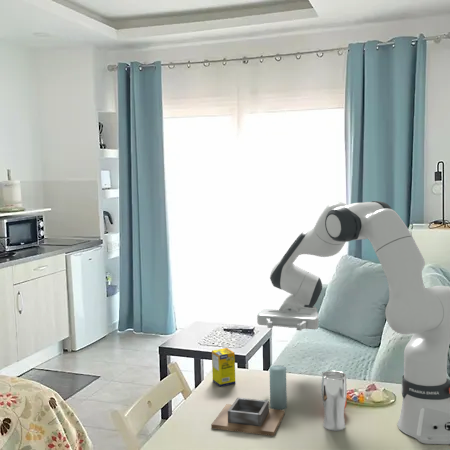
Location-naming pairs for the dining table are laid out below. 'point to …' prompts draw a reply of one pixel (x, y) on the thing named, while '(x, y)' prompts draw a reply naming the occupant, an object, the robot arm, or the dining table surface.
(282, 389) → the teal cylinder
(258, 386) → the dining table surface
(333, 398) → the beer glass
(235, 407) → the cup bracket
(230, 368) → the supplement box
